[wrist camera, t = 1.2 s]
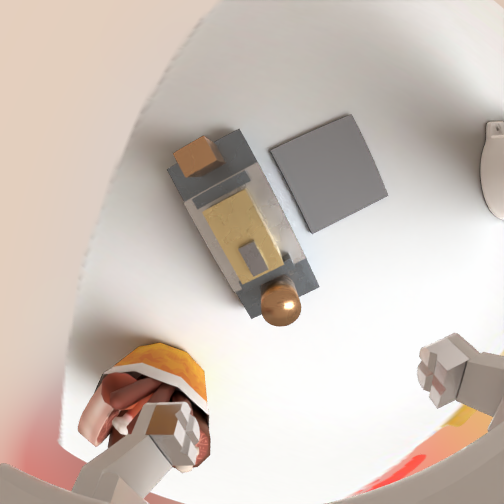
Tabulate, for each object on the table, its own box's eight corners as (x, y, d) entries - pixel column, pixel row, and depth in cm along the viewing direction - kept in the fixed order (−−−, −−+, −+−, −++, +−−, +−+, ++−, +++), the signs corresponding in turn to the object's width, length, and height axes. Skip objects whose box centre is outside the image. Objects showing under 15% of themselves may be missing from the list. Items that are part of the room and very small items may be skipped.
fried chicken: (199, 420, 43) (180, 513, 24) (114, 384, 42) (68, 466, 22) (243, 341, 38) (234, 461, 19) (134, 294, 37) (56, 384, 17)
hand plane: (174, 169, 32) (142, 168, 22) (240, 132, 31) (234, 115, 21) (251, 307, 37) (250, 352, 27) (314, 277, 35) (334, 314, 26)
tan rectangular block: (208, 207, 30) (200, 213, 25) (246, 187, 29) (244, 189, 24) (244, 271, 31) (242, 287, 27) (280, 253, 31) (285, 267, 26)
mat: (349, 115, 30) (351, 114, 29) (386, 195, 32) (388, 195, 32) (270, 150, 31) (270, 150, 31) (311, 233, 34) (312, 234, 33)
